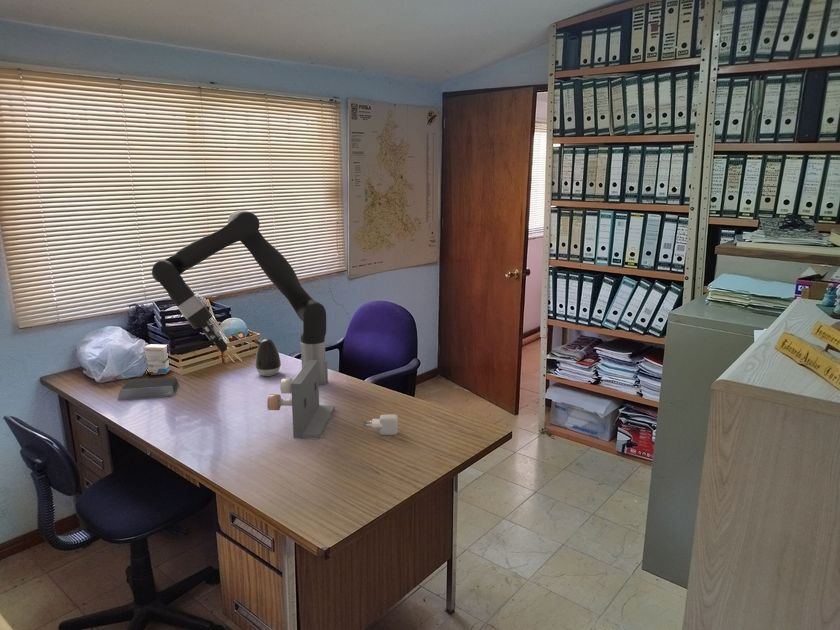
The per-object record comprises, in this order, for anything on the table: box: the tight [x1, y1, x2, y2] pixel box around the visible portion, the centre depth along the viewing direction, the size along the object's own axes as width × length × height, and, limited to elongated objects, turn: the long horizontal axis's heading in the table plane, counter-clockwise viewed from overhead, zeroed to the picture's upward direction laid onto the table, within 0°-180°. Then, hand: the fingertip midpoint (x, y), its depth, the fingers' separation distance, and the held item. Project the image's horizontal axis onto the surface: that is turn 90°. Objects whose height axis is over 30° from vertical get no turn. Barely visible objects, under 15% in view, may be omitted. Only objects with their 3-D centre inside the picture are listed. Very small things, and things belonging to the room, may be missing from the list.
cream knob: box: [280, 378, 294, 394], centre depth 205 cm, size 10×5×5 cm, turn 87°
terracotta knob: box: [266, 393, 292, 411], centre depth 191 cm, size 10×5×5 cm, turn 87°
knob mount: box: [290, 360, 336, 440], centre depth 198 cm, size 8×24×18 cm, turn 177°
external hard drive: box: [117, 377, 180, 400], centre depth 227 cm, size 13×19×4 cm
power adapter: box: [362, 414, 399, 436], centre depth 192 cm, size 11×5×6 cm, turn 92°
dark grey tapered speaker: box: [253, 338, 282, 377], centre depth 246 cm, size 10×10×15 cm
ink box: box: [143, 343, 170, 373], centre depth 248 cm, size 9×5×12 cm, turn 84°
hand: (225, 349), depth 207 cm, fingers open, 8 cm apart
